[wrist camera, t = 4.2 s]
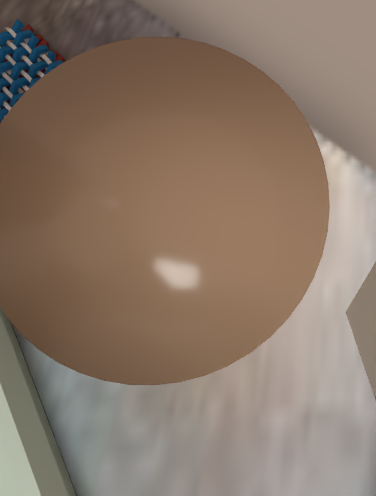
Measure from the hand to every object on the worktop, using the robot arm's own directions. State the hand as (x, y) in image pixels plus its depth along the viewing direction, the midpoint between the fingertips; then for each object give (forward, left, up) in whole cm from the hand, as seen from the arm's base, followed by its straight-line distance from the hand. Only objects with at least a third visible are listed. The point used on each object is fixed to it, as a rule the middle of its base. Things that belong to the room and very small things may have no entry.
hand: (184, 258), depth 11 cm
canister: (-1, 0, -7) cm, 7 cm away
